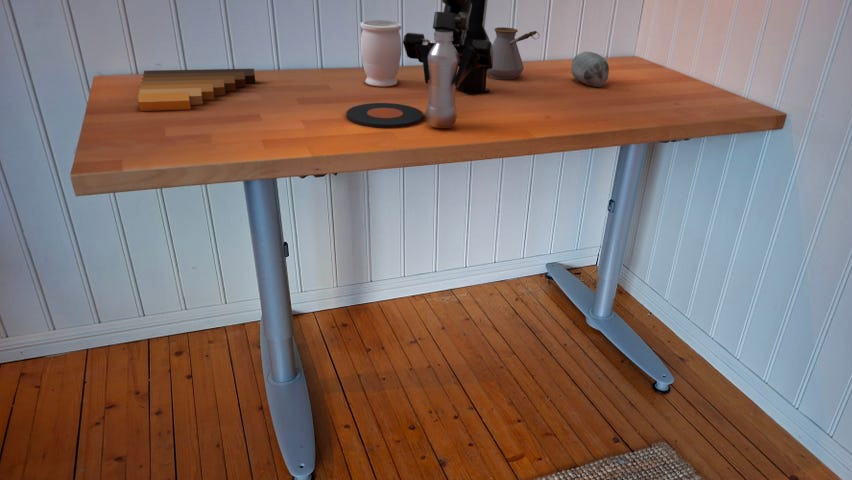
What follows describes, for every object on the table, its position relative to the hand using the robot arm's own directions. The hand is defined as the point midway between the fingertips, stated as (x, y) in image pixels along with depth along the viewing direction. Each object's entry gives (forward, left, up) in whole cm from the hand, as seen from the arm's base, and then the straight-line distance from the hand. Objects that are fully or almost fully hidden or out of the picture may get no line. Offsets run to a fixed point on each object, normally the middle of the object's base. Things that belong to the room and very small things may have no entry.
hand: (440, 84), depth 142 cm
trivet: (+6, -13, -10) cm, 17 cm away
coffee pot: (-43, -29, -10) cm, 53 cm away
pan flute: (+36, -46, -10) cm, 59 cm away
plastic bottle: (-1, -1, -10) cm, 10 cm away
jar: (-8, -40, -10) cm, 42 cm away
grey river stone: (-62, -18, -10) cm, 65 cm away
